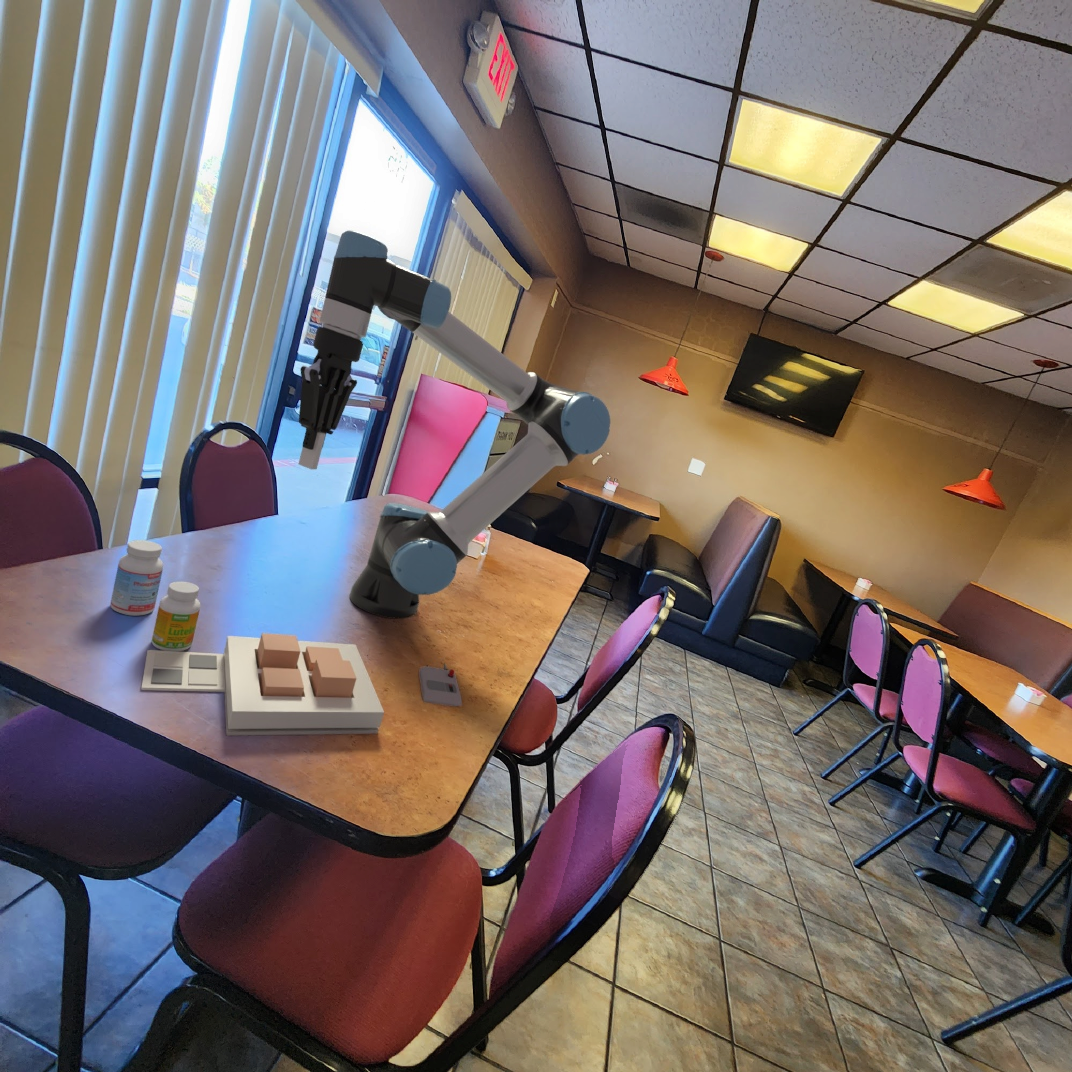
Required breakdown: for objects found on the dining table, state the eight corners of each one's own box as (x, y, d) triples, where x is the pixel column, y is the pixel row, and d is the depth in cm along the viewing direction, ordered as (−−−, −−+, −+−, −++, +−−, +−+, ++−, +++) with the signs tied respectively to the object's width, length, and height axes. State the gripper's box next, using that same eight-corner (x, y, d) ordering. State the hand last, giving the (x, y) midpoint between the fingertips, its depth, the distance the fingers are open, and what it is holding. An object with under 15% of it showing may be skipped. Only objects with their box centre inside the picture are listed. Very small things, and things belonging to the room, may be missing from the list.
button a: (293, 688, 87) (299, 668, 86) (298, 708, 83) (304, 687, 82) (257, 688, 84) (262, 667, 84) (260, 708, 80) (265, 686, 79)
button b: (291, 654, 92) (296, 635, 92) (295, 671, 88) (300, 651, 87) (256, 652, 90) (261, 632, 89) (259, 669, 86) (264, 649, 85)
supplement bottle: (162, 655, 86) (175, 596, 85) (144, 638, 89) (156, 581, 87) (198, 648, 91) (211, 592, 89) (180, 633, 94) (192, 578, 92)
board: (350, 662, 102) (355, 644, 101) (377, 733, 86) (384, 712, 85) (222, 656, 91) (227, 635, 91) (226, 735, 75) (232, 711, 74)
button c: (344, 680, 90) (349, 660, 90) (350, 698, 86) (356, 678, 86) (310, 678, 88) (316, 659, 87) (315, 697, 84) (321, 677, 83)
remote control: (423, 711, 96) (428, 695, 96) (416, 663, 111) (420, 649, 110) (461, 716, 99) (466, 701, 98) (449, 669, 113) (454, 655, 113)
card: (222, 656, 91) (223, 652, 91) (224, 692, 83) (225, 688, 83) (147, 652, 86) (148, 648, 86) (141, 690, 78) (141, 686, 78)
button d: (333, 666, 96) (338, 648, 96) (338, 683, 92) (344, 664, 92) (301, 665, 94) (306, 646, 93) (305, 682, 90) (311, 662, 89)
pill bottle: (132, 620, 93) (145, 555, 90) (100, 606, 93) (112, 541, 91) (163, 610, 98) (176, 548, 96) (132, 597, 99) (144, 535, 97)
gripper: (344, 334, 104) (312, 459, 109) (297, 316, 92) (263, 459, 96) (381, 346, 103) (346, 473, 107) (337, 330, 90) (301, 474, 95)
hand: (307, 466), depth 102 cm, fingers closed
